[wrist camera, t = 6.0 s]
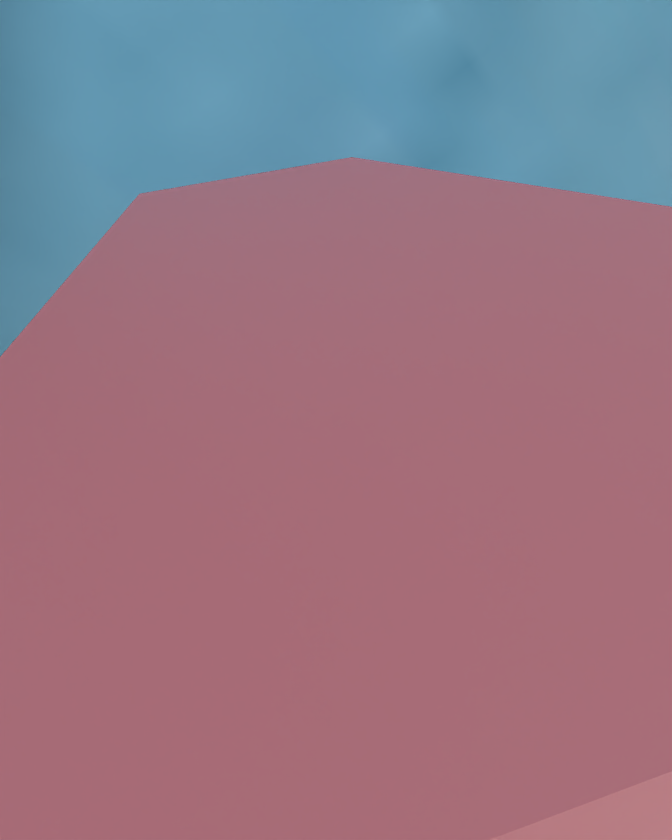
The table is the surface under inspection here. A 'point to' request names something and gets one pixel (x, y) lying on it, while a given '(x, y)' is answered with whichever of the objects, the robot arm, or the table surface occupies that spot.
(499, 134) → the table surface
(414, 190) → the pink rectangular block
